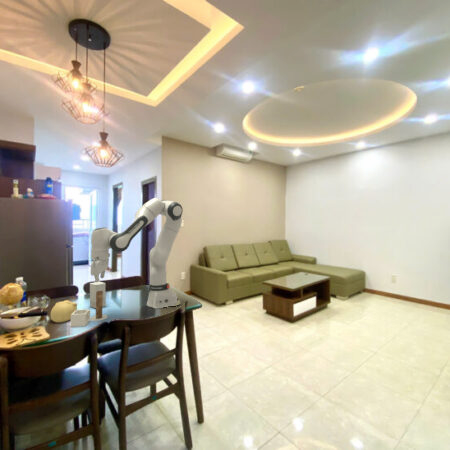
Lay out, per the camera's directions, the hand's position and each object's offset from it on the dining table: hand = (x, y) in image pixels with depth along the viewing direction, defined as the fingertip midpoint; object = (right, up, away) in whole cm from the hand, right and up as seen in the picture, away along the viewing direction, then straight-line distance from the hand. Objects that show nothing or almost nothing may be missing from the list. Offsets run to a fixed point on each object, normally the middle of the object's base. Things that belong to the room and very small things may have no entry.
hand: (99, 279), depth 138 cm
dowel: (-1, -22, 0) cm, 22 cm away
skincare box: (-12, -22, +19) cm, 32 cm away
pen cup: (-6, -22, -9) cm, 25 cm away
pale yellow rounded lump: (-19, -22, -3) cm, 29 cm away
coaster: (-1, -22, 0) cm, 22 cm away
